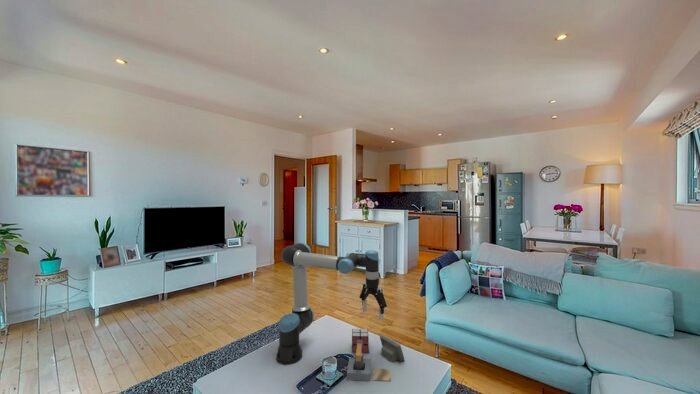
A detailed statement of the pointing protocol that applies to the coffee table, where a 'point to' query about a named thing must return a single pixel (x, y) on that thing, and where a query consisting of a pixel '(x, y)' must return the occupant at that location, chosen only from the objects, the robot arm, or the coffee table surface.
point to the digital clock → (391, 349)
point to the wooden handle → (359, 350)
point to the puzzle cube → (360, 335)
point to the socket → (359, 374)
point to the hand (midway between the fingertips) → (372, 315)
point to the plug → (359, 363)
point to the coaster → (381, 375)
